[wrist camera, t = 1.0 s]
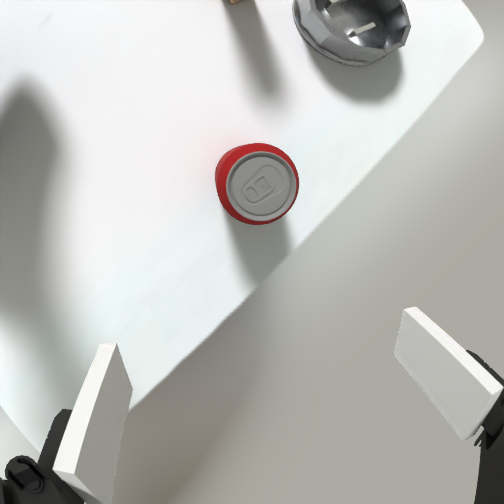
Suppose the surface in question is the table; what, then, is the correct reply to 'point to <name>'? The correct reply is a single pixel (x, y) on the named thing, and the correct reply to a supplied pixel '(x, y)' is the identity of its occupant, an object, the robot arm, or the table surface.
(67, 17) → the table surface
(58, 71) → the table surface
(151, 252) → the table surface
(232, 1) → the long wooden beam
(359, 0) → the tin
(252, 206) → the beverage can
